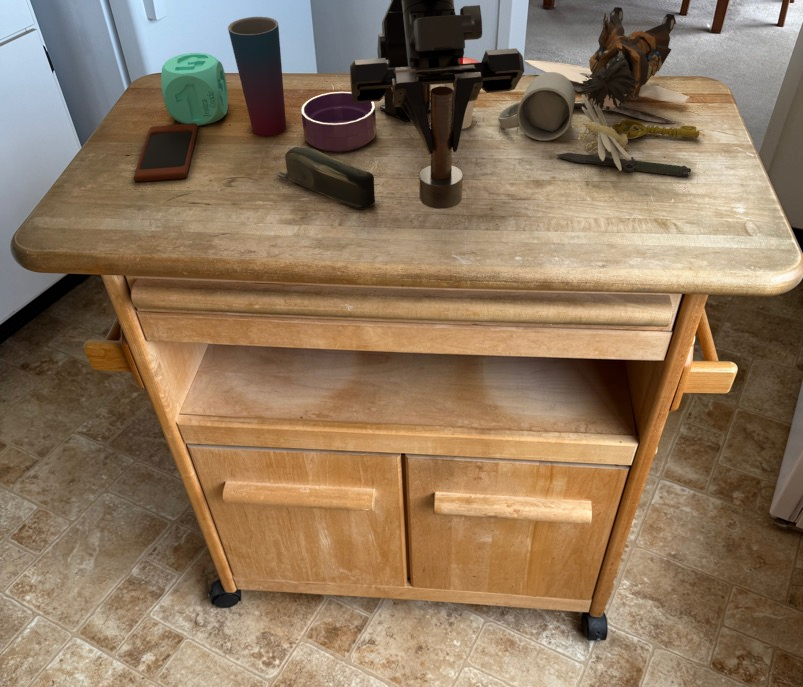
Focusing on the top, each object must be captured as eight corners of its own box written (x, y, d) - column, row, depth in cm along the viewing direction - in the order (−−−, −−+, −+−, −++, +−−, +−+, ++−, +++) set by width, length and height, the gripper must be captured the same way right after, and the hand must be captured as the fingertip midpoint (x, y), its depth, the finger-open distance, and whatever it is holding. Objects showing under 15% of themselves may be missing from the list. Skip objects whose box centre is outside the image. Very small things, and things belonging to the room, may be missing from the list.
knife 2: (672, 136, 109) (676, 120, 112) (674, 127, 108) (678, 111, 111) (546, 113, 114) (553, 99, 117) (547, 105, 113) (555, 90, 116)
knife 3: (692, 162, 100) (691, 175, 98) (690, 167, 100) (689, 181, 99) (556, 146, 104) (552, 159, 102) (555, 151, 105) (551, 164, 103)
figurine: (684, -2, 115) (668, 57, 93) (663, 83, 124) (643, 156, 102) (611, -11, 118) (578, 44, 96) (595, 73, 126) (561, 141, 104)
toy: (550, 115, 108) (566, 84, 104) (604, 126, 110) (621, 96, 107) (580, 178, 98) (599, 147, 95) (639, 189, 101) (659, 158, 98)
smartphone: (151, 131, 113) (134, 183, 102) (149, 125, 112) (132, 176, 101) (198, 127, 113) (187, 179, 102) (197, 122, 113) (185, 172, 102)
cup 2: (463, 112, 115) (465, 32, 107) (485, 125, 111) (489, 43, 103) (434, 122, 113) (434, 41, 105) (455, 135, 109) (457, 53, 101)
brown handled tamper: (441, 181, 91) (441, 76, 82) (471, 197, 88) (475, 90, 80) (410, 197, 89) (408, 91, 80) (440, 214, 86) (441, 105, 77)
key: (700, 123, 107) (699, 139, 103) (698, 131, 108) (697, 148, 104) (614, 115, 110) (611, 131, 106) (613, 124, 110) (609, 139, 107)
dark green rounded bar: (377, 169, 93) (285, 136, 100) (363, 180, 92) (269, 146, 98) (378, 204, 97) (289, 170, 103) (364, 215, 95) (274, 180, 101)
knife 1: (678, 110, 111) (679, 105, 110) (514, 68, 124) (514, 63, 124) (694, 96, 114) (695, 90, 114) (533, 56, 128) (533, 51, 127)
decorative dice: (170, 127, 113) (157, 75, 108) (179, 103, 119) (167, 53, 114) (223, 125, 114) (213, 72, 108) (230, 101, 119) (221, 51, 114)
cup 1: (284, 140, 110) (268, 35, 100) (239, 137, 111) (220, 33, 101) (298, 119, 115) (284, 17, 104) (255, 116, 116) (238, 15, 106)
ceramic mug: (573, 117, 112) (579, 66, 107) (569, 143, 106) (574, 91, 101) (502, 112, 115) (505, 62, 109) (494, 138, 109) (496, 86, 104)
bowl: (345, 114, 116) (343, 85, 112) (391, 136, 110) (389, 107, 107) (290, 137, 110) (286, 107, 107) (335, 162, 105) (332, 131, 102)
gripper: (343, -19, 75) (358, 135, 75) (527, -31, 76) (544, 120, 76) (345, 32, 86) (358, 166, 86) (506, 21, 87) (520, 153, 87)
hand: (443, 152), depth 83 cm, fingers closed on brown handled tamper, 2 cm apart
